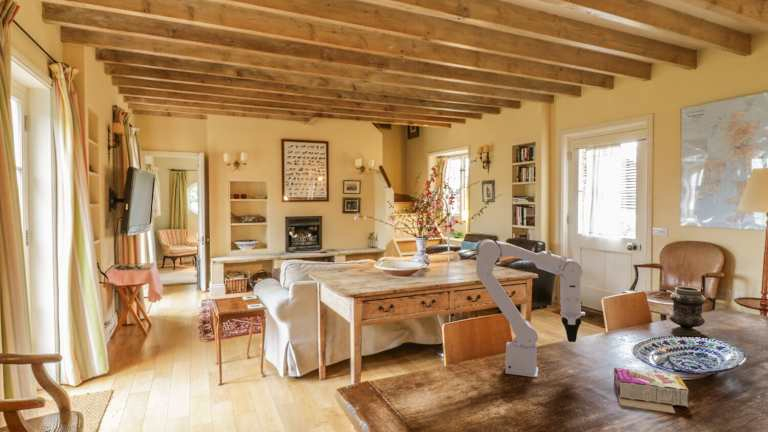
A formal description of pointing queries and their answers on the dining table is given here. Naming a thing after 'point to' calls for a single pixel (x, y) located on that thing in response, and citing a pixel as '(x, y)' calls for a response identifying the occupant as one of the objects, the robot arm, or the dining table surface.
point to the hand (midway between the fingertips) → (571, 341)
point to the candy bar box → (651, 387)
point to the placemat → (646, 405)
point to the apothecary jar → (687, 310)
